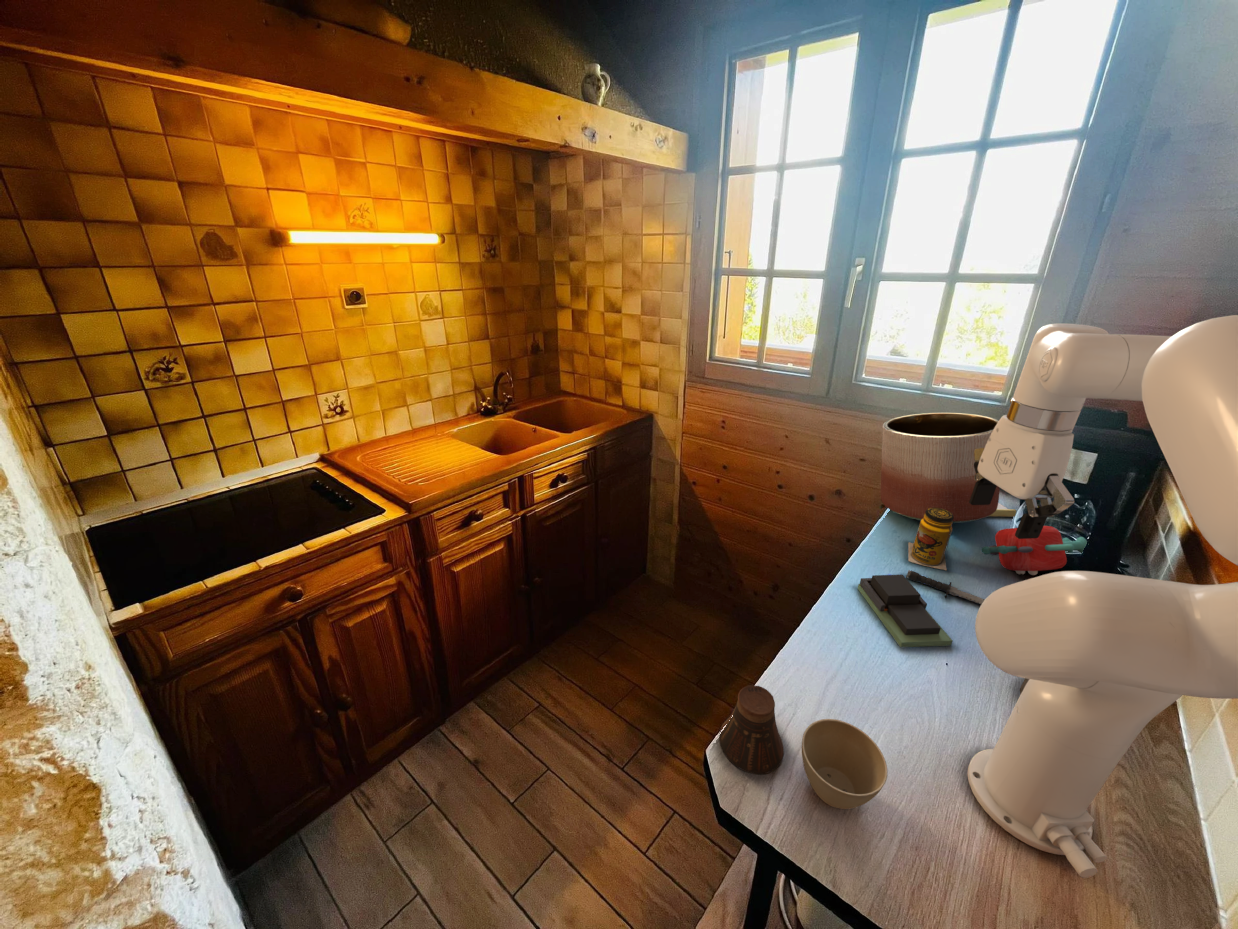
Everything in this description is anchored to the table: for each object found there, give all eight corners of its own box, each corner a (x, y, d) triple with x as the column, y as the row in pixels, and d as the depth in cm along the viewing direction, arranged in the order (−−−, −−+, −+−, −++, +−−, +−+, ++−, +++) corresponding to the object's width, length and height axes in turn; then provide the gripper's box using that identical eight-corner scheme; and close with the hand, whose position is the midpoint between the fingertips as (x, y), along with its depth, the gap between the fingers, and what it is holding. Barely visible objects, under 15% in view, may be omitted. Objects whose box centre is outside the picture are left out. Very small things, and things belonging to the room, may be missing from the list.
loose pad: (916, 608, 94) (921, 594, 93) (885, 609, 94) (888, 596, 92) (898, 586, 100) (902, 574, 98) (868, 587, 99) (872, 575, 98)
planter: (906, 483, 144) (908, 409, 137) (1012, 500, 124) (1021, 415, 117) (862, 511, 130) (862, 431, 123) (974, 536, 110) (981, 442, 103)
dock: (951, 645, 87) (955, 634, 86) (900, 647, 87) (904, 636, 86) (900, 587, 101) (903, 576, 100) (857, 588, 101) (859, 577, 100)
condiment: (908, 562, 109) (922, 516, 104) (908, 542, 116) (921, 498, 111) (946, 571, 106) (962, 524, 101) (943, 551, 113) (958, 506, 108)
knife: (1022, 605, 94) (1020, 619, 91) (1018, 612, 95) (1016, 627, 91) (911, 564, 105) (905, 576, 102) (908, 572, 106) (903, 583, 102)
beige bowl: (780, 788, 65) (787, 754, 62) (814, 739, 71) (823, 705, 68) (856, 850, 58) (868, 814, 55) (886, 789, 65) (899, 754, 62)
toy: (1046, 570, 112) (963, 577, 111) (1036, 526, 114) (954, 532, 113) (1127, 572, 95) (1030, 579, 94) (1113, 520, 97) (1018, 527, 96)
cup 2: (814, 715, 65) (794, 757, 70) (763, 664, 71) (748, 706, 76) (769, 749, 60) (751, 791, 66) (719, 692, 67) (706, 734, 72)
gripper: (972, 397, 76) (942, 493, 84) (1069, 439, 61) (1021, 553, 68) (1019, 396, 76) (984, 492, 84) (1127, 438, 61) (1073, 552, 68)
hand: (1001, 519), depth 76 cm, fingers open, 9 cm apart
